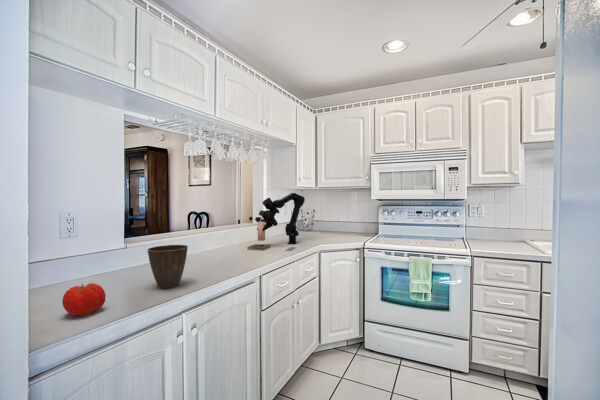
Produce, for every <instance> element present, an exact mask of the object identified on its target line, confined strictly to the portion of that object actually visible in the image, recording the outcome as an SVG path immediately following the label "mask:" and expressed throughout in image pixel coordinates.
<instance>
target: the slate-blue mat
mask: <svg viewBox="0 0 600 400" xmlns="http://www.w3.org/2000/svg"><path fill="white" fill-rule="evenodd" d="M295 249H296V247H295V246H291V247H288V248H287V249H285V250H284V251H285V252H286V251H289V252H291V251H293V250H295Z"/></svg>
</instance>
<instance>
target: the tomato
mask: <svg viewBox="0 0 600 400" xmlns="http://www.w3.org/2000/svg"><path fill="white" fill-rule="evenodd" d="M106 297H107V296H106V292H105V290H104V288H103V286H101V285H100V284H96V283H94V282H93V283H91V282H90V283H89V282H88V284H86V285H84V284H83V283H81V284H80V285H75V286H72V287H70V288H69V289H67V290H66V291H65V292H64V294H63V297H62V299H61V300H62V306H63V309H64V310H65V311H66V312H67V313H68V314H69V315H71V316H77V317H78V316H81V317H82V316H87V315H89V314H90V313H92V312H95V311H97V310H99V309H101V308H102V307H103V306H104V305H105V303H106Z"/></svg>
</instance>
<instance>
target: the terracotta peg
mask: <svg viewBox="0 0 600 400" xmlns="http://www.w3.org/2000/svg"><path fill="white" fill-rule="evenodd" d="M265 224H266V223H265V222H264V221H260V222H258V223H257V227H258V231H257V241H259V242H261V241H262V242H263V241H266V230H265V231H262V229H263V228H264V226H265Z"/></svg>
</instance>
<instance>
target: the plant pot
mask: <svg viewBox="0 0 600 400" xmlns="http://www.w3.org/2000/svg"><path fill="white" fill-rule="evenodd" d="M147 255H148V260H149V263H150V264H149V265H150V270H151V272H152V274H153V277H154V280H155V282H156V283H155V284H157V285H156V286H157V287H158V288H159V289H161V290H169V289H174V288H177V287H178V286H179V284H180V282H181V279H182V276H183V273H184V269H185V265H186V261H187V255H188V245H185V244H168V245H167V244H166V245H165V244H164V245H158V246H153V247H150V248H147Z"/></svg>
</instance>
